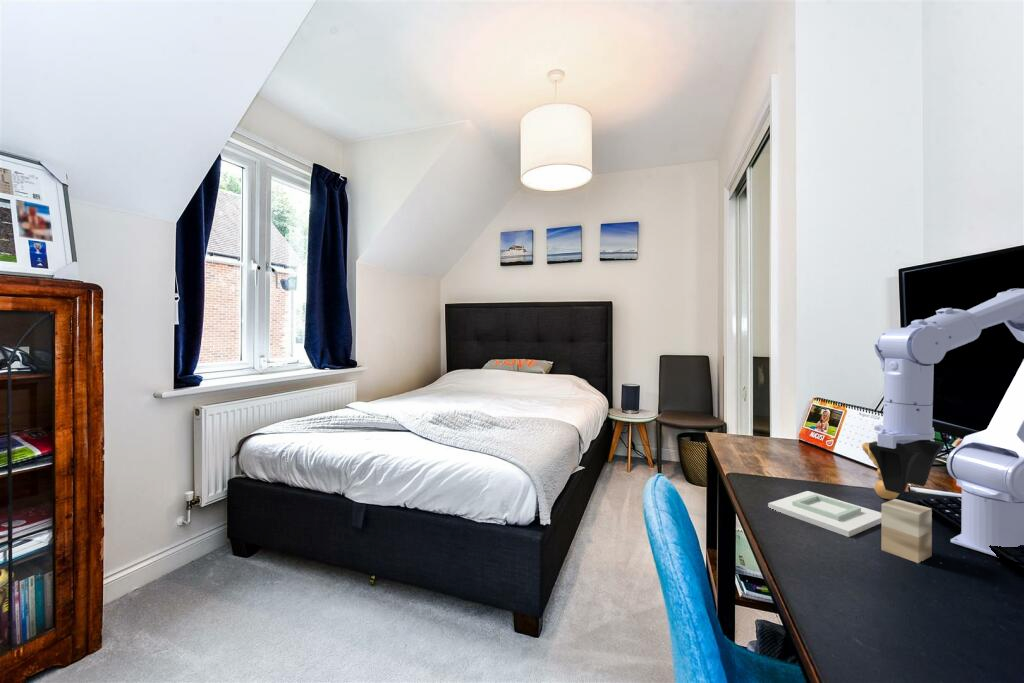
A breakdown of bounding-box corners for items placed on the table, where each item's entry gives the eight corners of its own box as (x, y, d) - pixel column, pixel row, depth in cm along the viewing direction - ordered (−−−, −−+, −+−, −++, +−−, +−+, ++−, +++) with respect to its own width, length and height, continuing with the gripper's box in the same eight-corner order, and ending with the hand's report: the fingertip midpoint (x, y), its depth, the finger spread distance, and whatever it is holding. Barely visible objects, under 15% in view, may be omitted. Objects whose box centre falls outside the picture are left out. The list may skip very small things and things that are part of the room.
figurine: (900, 507, 85) (900, 447, 85) (861, 499, 89) (861, 443, 89) (898, 495, 92) (898, 439, 91) (862, 488, 96) (862, 435, 95)
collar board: (807, 495, 92) (807, 487, 92) (888, 520, 80) (888, 510, 80) (768, 508, 86) (768, 499, 86) (848, 537, 73) (848, 526, 73)
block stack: (894, 543, 71) (895, 498, 71) (931, 555, 67) (931, 508, 67) (881, 549, 69) (881, 504, 69) (918, 563, 65) (918, 514, 65)
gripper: (896, 396, 74) (894, 473, 75) (854, 401, 68) (852, 486, 68) (952, 402, 68) (949, 486, 68) (912, 408, 61) (910, 502, 62)
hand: (905, 487), depth 68 cm, fingers open, 7 cm apart
